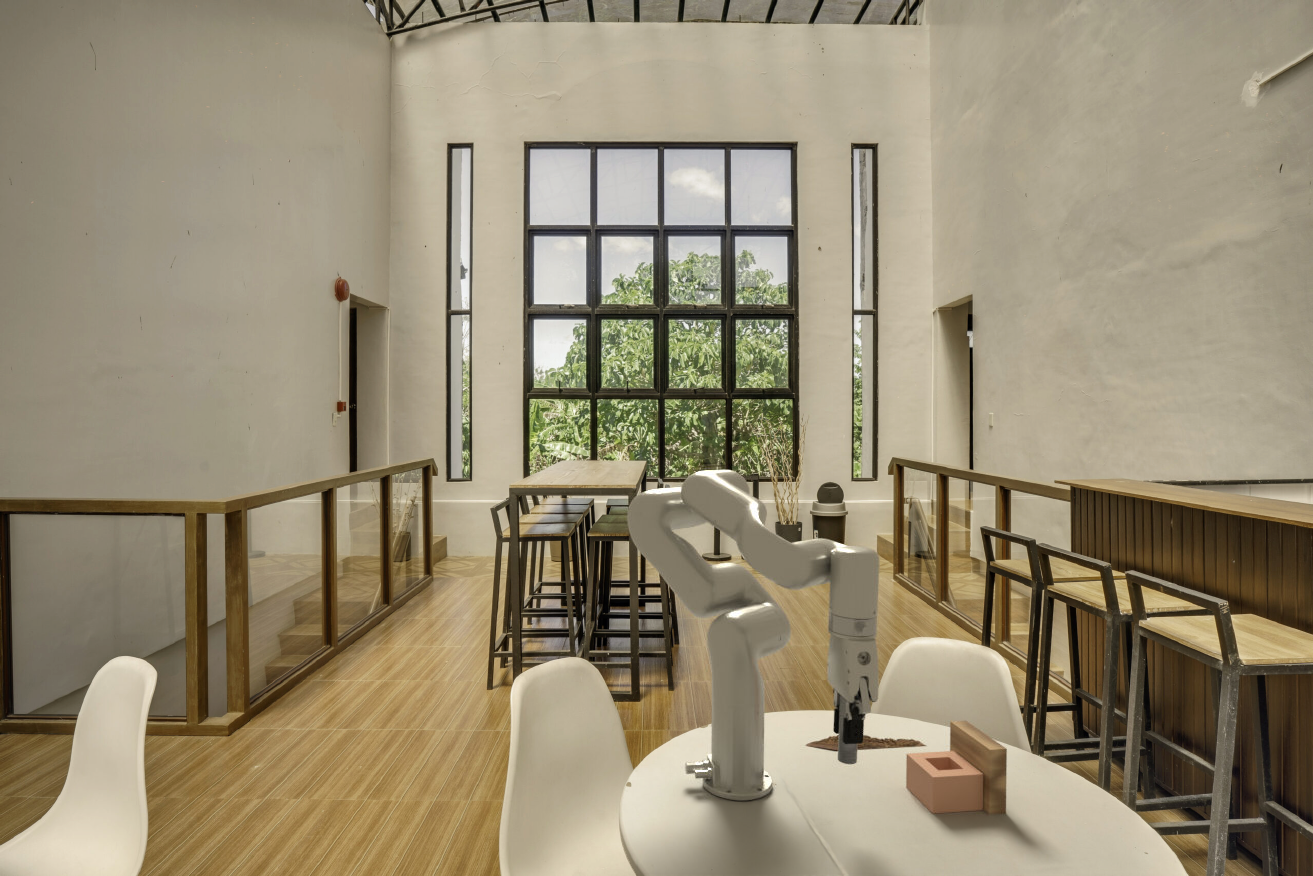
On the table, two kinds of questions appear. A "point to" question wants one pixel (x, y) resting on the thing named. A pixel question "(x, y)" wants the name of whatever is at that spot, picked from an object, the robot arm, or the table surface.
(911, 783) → the block
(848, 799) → the table surface
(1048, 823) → the table surface
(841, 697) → the dowel
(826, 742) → the wooden fragment
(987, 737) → the block
